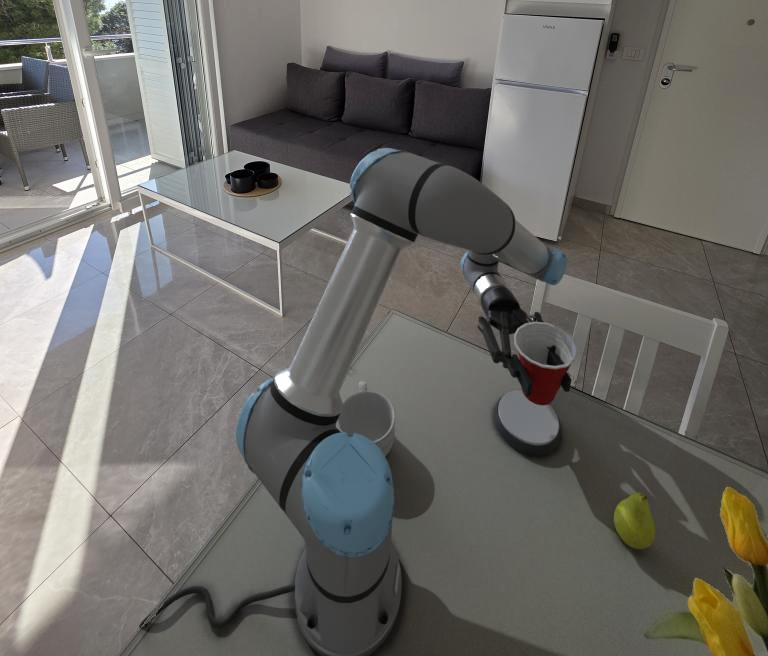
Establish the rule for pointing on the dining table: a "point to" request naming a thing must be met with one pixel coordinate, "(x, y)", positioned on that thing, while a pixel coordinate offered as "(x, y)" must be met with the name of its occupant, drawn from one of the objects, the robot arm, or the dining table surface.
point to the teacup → (369, 417)
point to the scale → (527, 424)
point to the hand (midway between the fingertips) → (549, 387)
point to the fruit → (635, 521)
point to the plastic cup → (544, 358)
